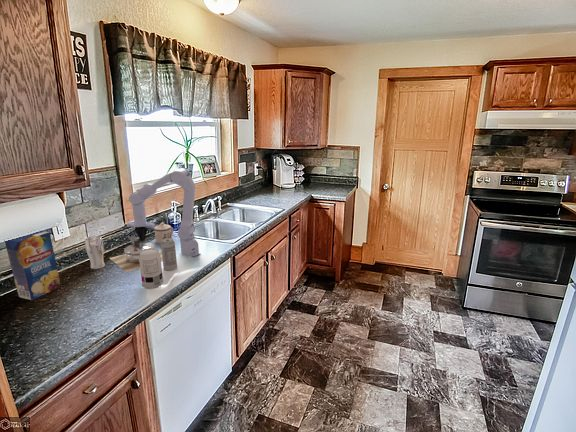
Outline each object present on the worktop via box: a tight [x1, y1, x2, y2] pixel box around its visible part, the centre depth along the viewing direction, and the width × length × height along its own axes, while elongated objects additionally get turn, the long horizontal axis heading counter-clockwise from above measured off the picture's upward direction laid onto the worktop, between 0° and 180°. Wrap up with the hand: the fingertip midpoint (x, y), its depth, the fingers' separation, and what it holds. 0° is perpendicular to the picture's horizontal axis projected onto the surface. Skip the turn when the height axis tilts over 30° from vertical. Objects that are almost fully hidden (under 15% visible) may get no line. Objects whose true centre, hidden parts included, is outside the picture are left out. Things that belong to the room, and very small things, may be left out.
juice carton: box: [4, 230, 62, 301], centre depth 131 cm, size 12×8×24 cm, turn 161°
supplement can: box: [139, 248, 164, 290], centre depth 138 cm, size 8×8×15 cm
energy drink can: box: [160, 237, 178, 272], centre depth 151 cm, size 6×6×15 cm
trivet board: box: [109, 247, 163, 273], centre depth 164 cm, size 22×22×1 cm
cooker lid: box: [123, 235, 155, 255], centre depth 164 cm, size 19×14×3 cm
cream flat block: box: [124, 252, 139, 264], centre depth 164 cm, size 20×13×4 cm, turn 36°
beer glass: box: [84, 235, 106, 270], centre depth 153 cm, size 7×7×15 cm
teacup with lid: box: [153, 221, 174, 244], centre depth 188 cm, size 12×9×12 cm
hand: (142, 240), depth 171 cm, fingers closed
